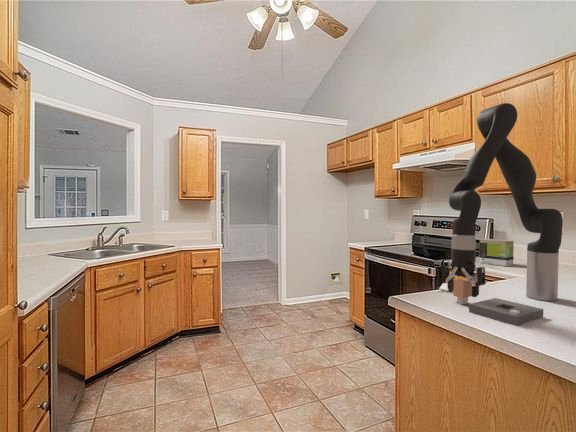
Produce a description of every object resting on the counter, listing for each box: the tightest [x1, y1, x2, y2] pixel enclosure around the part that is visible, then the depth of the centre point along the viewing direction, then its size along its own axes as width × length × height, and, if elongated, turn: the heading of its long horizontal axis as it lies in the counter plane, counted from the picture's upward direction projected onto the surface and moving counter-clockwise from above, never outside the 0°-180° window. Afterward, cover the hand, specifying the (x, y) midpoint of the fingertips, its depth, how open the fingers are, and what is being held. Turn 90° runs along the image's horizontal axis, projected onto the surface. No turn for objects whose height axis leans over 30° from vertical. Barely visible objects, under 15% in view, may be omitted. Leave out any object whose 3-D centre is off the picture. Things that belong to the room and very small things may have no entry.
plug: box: [453, 278, 473, 305], centre depth 114 cm, size 5×4×8 cm
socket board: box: [468, 297, 544, 327], centre depth 101 cm, size 15×14×3 cm
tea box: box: [478, 238, 515, 267], centre depth 195 cm, size 15×10×15 cm, turn 34°
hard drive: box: [438, 282, 454, 294], centre depth 133 cm, size 2×8×12 cm
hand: (462, 293), depth 114 cm, fingers open, 8 cm apart
